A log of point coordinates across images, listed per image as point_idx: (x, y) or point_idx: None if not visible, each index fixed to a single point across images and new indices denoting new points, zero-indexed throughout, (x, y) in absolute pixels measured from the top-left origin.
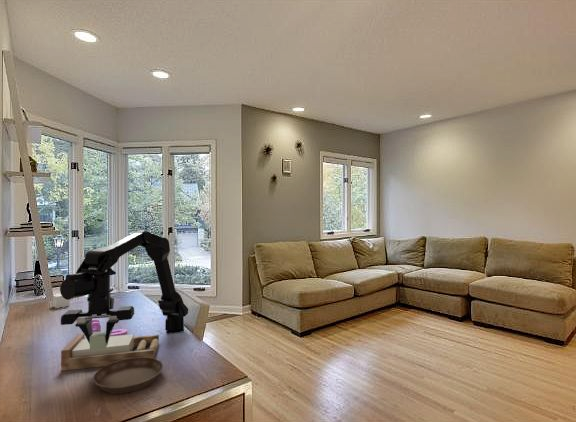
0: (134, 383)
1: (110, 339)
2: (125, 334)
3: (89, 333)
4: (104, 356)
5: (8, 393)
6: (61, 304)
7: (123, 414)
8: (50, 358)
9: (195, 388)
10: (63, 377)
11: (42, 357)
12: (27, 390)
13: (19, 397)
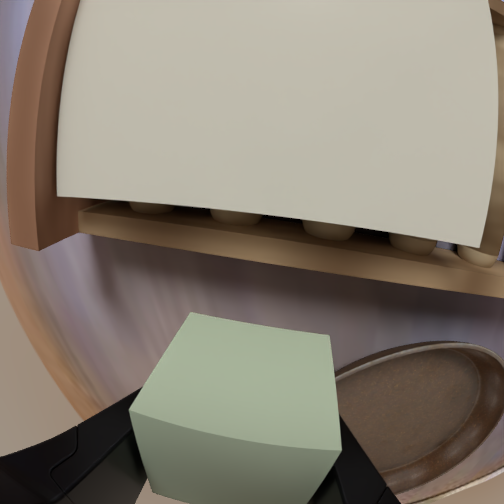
0: (395, 448)
1: (317, 11)
2: None
3: (129, 497)
4: (294, 263)
5: (28, 330)
6: None
7: None
8: None
9: (488, 465)
10: (121, 297)
11: (12, 43)
12: (59, 340)
13: (66, 372)
